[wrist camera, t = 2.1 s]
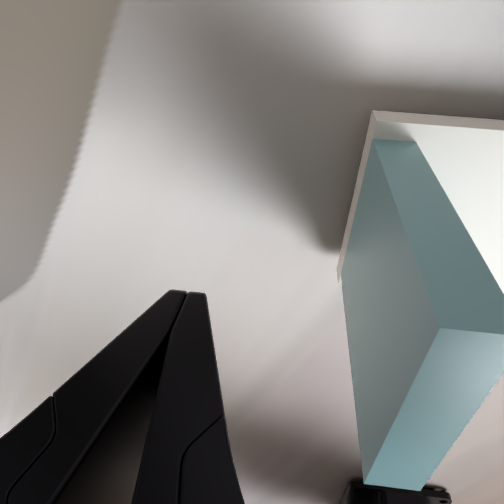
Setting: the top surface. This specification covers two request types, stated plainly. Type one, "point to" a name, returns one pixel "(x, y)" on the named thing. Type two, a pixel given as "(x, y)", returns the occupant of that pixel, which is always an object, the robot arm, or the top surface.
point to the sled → (423, 287)
